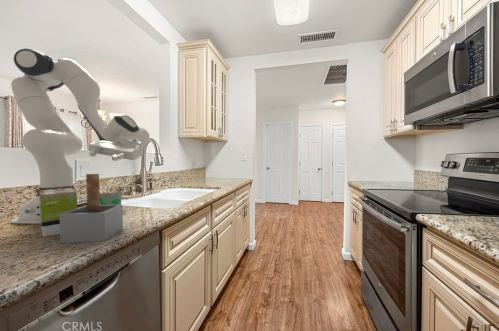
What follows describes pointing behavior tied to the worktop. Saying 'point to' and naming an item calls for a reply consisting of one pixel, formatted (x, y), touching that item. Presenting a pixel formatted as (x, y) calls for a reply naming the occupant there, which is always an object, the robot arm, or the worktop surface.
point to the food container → (111, 198)
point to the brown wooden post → (93, 193)
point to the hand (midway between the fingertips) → (102, 156)
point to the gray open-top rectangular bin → (90, 224)
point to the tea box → (55, 208)
